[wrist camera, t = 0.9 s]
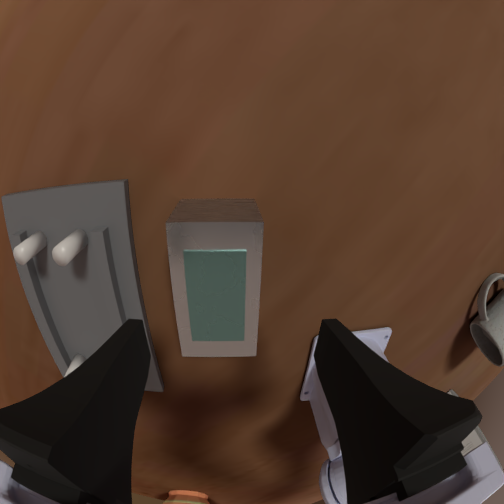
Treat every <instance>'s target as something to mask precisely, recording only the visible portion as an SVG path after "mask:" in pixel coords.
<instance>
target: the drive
mask: <svg viewBox="0 0 504 504" xmlns="http://www.w3.org/2000/svg"><path fill="white" fill-rule="evenodd" d="M263 226H264V222H263V219H262V217H261V214H260V211H259V209H258V206H257V204H256V201H255V199H181V200H180V201H179V203H178V204H177V206H176V207H175V209H174V210H173V212H172V214H171V215H170V217H169V218H168V220H167V221H166V232H167V244H168V255H169V265H170V274H171V283H172V291H173V299H174V306H175V313H176V320H177V327H178V333H179V339H180V345H181V351H182V356H188V357H242V356H256V350H257V334H258V317H259V300H260V282H261V264H262V245H263Z"/></svg>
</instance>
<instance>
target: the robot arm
mask: <svg viewBox="0 0 504 504" xmlns="http://www.w3.org/2000/svg"><path fill="white" fill-rule="evenodd" d="M391 333H392V330H391V329H390V328H389V327H386V328H379V329H371V330H363V331H355V332H351V331H350V330H349V329H347V328H346V327H345V326H344V325H343V324H342V323H341V322H339V321H338V320H337V319H323V320H322V323H321V327H320V331H319V335H318V336H316V337H315V338H314V341H313V345H312V350H311V354H310V358H309V362H308V367H307V371H306V375H305V379H304V383H303V386H302V390H301V394H300V400H302V401H307V400H310V404H311V407H312V411H313V415H314V418H315V422H316V425H317V429H318V432H319V436H320V440H321V442H322V444H323V446H324V447H325V448H326V449H327V451H328V455H329V459H327V460H326V461H325V462H324V463H323V465H322V467H321V471H320V475H319V486H320V491H321V494H322V497H323V499H324V501H325V503H326V504H481V503H482V502H484V501H485V500H486V499H487V498H488V497H489V496H491V495H492V494H493V493H494V492H495V491H497V490H498V489H499V488H500V487H501V486H502V485H503V484H504V474H503V471H502V469H501V467H500V465H499V464H498V462H497V460H496V458H495V456H494V454H493V452H492V451H491V449H490V447H489V445H488V443H487V442H484V443H482V444H481V445H479V446H478V447H476V448H474V449H473V450H471V451H470V452H468V453H467V454H466V455H464V456H463V455H462V453H461V451H462V450H463V449H464V446H463V444H462V441H463V440H464V439H465V438H466V437H467V436H468V435H469V434H470V433H471V432H472V431H473V430H474V429H475V428H476V427H477V426H478V424H479V423H480V421H481V419H482V415H481V413H480V411H479V410H478V408H477V407H476V405H475V404H474V402H473V401H472V400H468V399H465V398H461V397H457V396H454V395H451V394H448V393H445V392H442V391H440V390H437V389H435V388H432V387H430V386H428V385H426V384H424V383H422V382H420V381H418V380H416V379H414V378H412V377H410V376H409V375H407V374H405V373H404V372H402V371H401V370H399V369H397V368H396V367H394V366H393V365H391V364H390V363H389V362H388V360H387V358H386V357H385V355H384V353H383V352H384V350H385V348H386V345H387V343H388V340H389V338H390V335H391ZM150 360H151V354H150V350H149V346H148V342H147V337H146V333H145V328H144V324H143V320H141V319H128V320H127V321H126V322H125V323H124V324H123V325H122V326H121V327H120V328H119V329H118V330H117V331H116V332H115V333H114V334H113V335H112V336H111V337H110V338H109V339H108V340H107V341H106V342H105V343H104V344H103V345H102V346H101V347H100V348H99V349H98V350H97V351H96V352H94V353H93V354H92V355H91V356H90V357H89V358H88V359H87V360H86V361H84V362H83V363H82V364H81V365H80V366H79V367H77V368H76V369H75V370H74V371H72V372H71V373H69V374H68V375H67V376H65V377H64V378H63V379H61V380H60V381H58V382H56V383H55V384H53V385H52V386H50V387H48V388H47V389H45V390H43V391H42V392H40V393H38V394H36V395H34V396H32V397H30V398H28V399H25V400H23V401H21V402H18V403H16V404H13V405H10V406H7V407H5V408H1V409H0V450H1V451H2V452H3V453H5V454H6V455H7V456H8V457H9V458H10V459H11V460H13V461H14V462H15V465H14V468H13V467H11V466H10V465H8V464H7V463H5V462H3V461H2V460H0V504H132V497H131V464H132V449H133V439H134V430H135V425H136V420H137V416H138V412H139V408H140V404H141V401H142V397H143V393H144V390H145V386H146V382H147V379H148V373H149V367H150Z"/></svg>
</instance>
